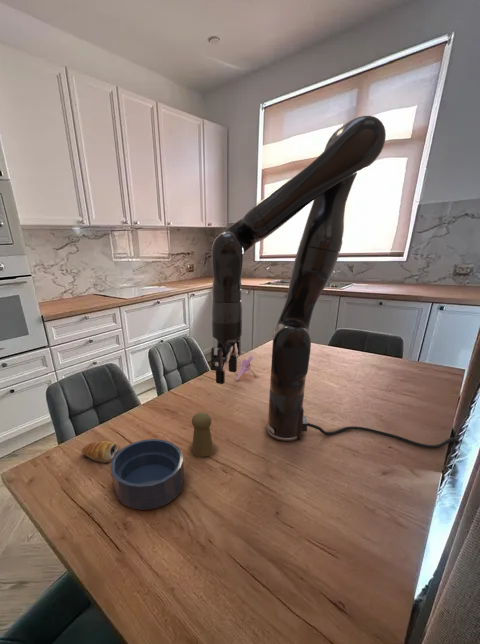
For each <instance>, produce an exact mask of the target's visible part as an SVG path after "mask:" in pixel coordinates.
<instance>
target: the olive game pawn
mask: <svg viewBox="0 0 480 644" xmlns="http://www.w3.org/2000/svg"><path fill="white" fill-rule="evenodd" d="M191 424H192V426H193V437H192V445H191V452H192V454H193V455H194V456H197V457H199V458H200V457H201V458H203V457H204V458H205V457H208V456H211V455H212V454H213V453H214V450H215V449H214V443H213V438H212V433H211V426H212V417H211V416H210V414H208V413H207V412H197V413H195V414H194V415H193V416H192V417H191Z"/></svg>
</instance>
